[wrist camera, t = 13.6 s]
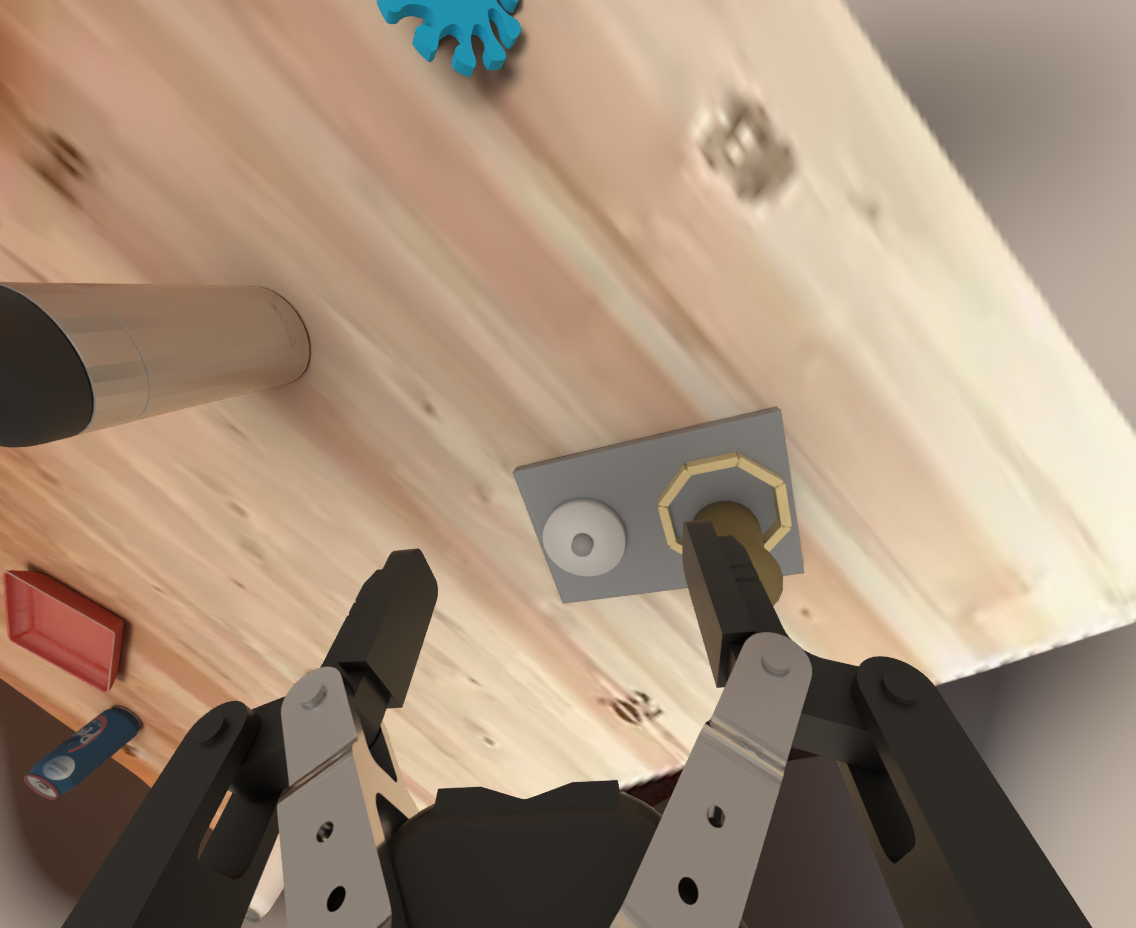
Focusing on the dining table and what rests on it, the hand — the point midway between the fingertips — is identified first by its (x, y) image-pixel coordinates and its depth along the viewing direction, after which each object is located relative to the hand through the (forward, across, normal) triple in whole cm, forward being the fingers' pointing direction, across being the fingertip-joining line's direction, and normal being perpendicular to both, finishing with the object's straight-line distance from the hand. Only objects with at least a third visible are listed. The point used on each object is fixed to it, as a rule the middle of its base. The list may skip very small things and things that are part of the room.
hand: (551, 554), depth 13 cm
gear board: (+21, -6, +19) cm, 29 cm away
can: (+16, +65, +86) cm, 109 cm away
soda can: (+26, +91, +59) cm, 112 cm away
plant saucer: (+31, +85, +38) cm, 98 cm away
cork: (+19, -12, +19) cm, 29 cm away
